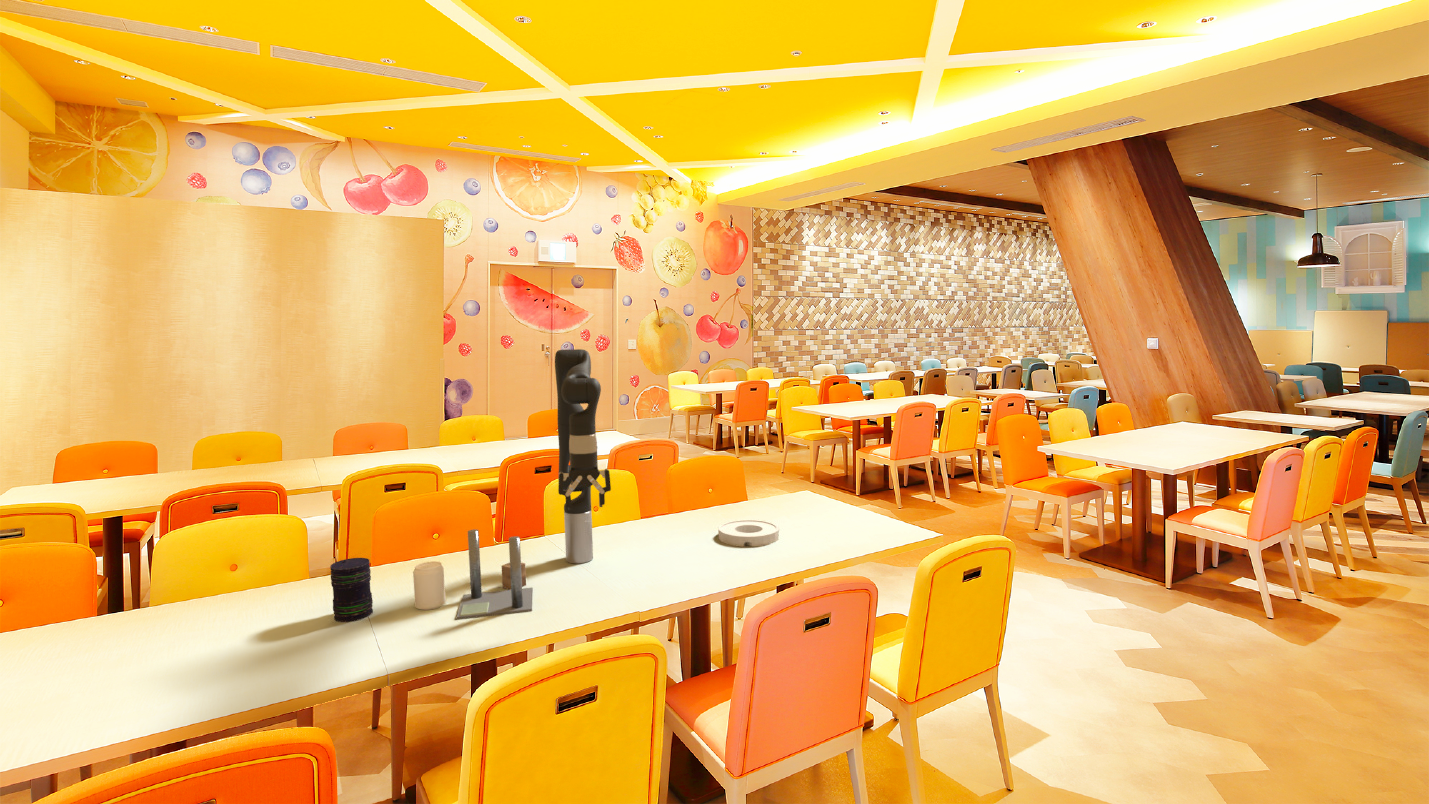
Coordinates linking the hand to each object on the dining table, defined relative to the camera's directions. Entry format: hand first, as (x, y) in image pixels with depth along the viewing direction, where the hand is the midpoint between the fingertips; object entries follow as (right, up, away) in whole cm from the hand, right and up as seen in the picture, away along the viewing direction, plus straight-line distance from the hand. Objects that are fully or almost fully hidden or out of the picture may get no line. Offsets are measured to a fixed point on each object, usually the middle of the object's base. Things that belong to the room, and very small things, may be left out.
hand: (585, 507), depth 188 cm
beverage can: (-46, -30, +7) cm, 55 cm away
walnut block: (-26, -28, +22) cm, 44 cm away
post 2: (-20, -29, +4) cm, 35 cm away
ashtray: (+49, -23, +69) cm, 88 cm away
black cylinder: (-65, -31, +2) cm, 72 cm away
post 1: (-35, -28, +12) cm, 46 cm away
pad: (-32, -29, +2) cm, 43 cm away
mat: (-27, -29, +8) cm, 41 cm away
